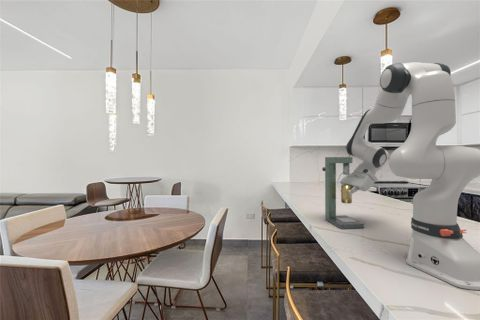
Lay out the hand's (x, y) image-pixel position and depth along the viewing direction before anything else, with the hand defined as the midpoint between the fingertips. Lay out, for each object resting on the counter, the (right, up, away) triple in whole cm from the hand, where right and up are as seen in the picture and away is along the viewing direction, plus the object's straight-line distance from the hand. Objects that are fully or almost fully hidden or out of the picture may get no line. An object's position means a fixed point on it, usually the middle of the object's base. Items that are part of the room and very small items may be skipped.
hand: (345, 193), depth 117 cm
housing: (+1, -5, 0) cm, 5 cm away
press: (-1, -16, +4) cm, 17 cm away
